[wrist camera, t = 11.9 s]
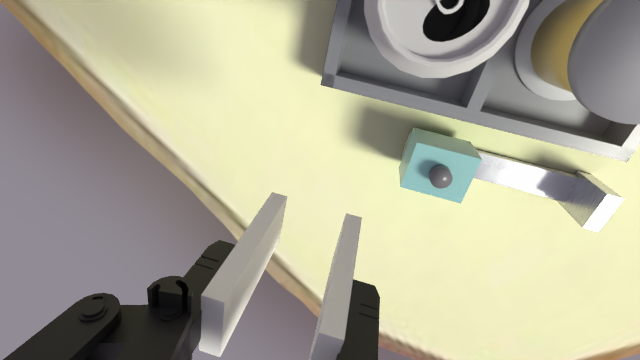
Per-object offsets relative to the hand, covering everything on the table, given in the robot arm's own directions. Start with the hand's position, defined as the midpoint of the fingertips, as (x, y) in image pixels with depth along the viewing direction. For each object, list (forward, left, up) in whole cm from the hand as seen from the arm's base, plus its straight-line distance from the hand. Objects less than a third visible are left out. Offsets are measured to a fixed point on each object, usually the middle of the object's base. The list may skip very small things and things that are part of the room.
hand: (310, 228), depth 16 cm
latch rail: (0, +14, -17) cm, 21 cm away
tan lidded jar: (-11, +15, -16) cm, 24 cm away
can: (-11, +3, -16) cm, 20 cm away
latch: (0, +8, -15) cm, 17 cm away
